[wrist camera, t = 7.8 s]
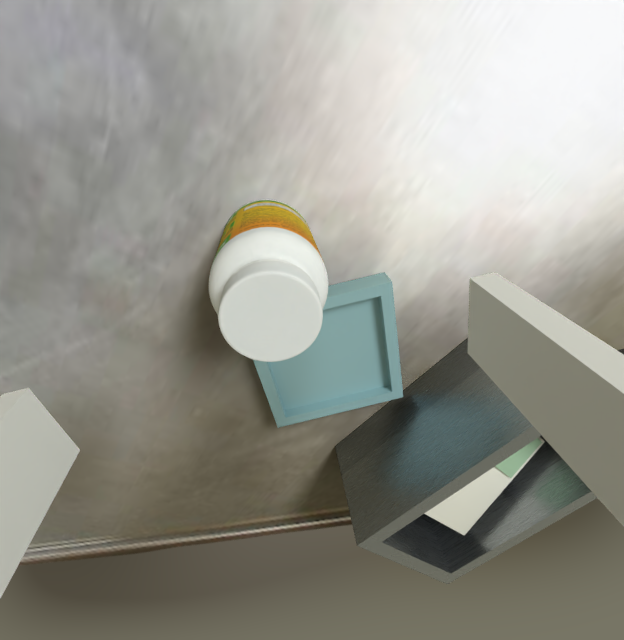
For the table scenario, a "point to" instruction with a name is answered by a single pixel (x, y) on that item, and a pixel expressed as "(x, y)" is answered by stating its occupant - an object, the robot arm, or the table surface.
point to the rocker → (481, 491)
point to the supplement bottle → (268, 282)
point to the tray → (340, 357)
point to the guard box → (450, 472)
